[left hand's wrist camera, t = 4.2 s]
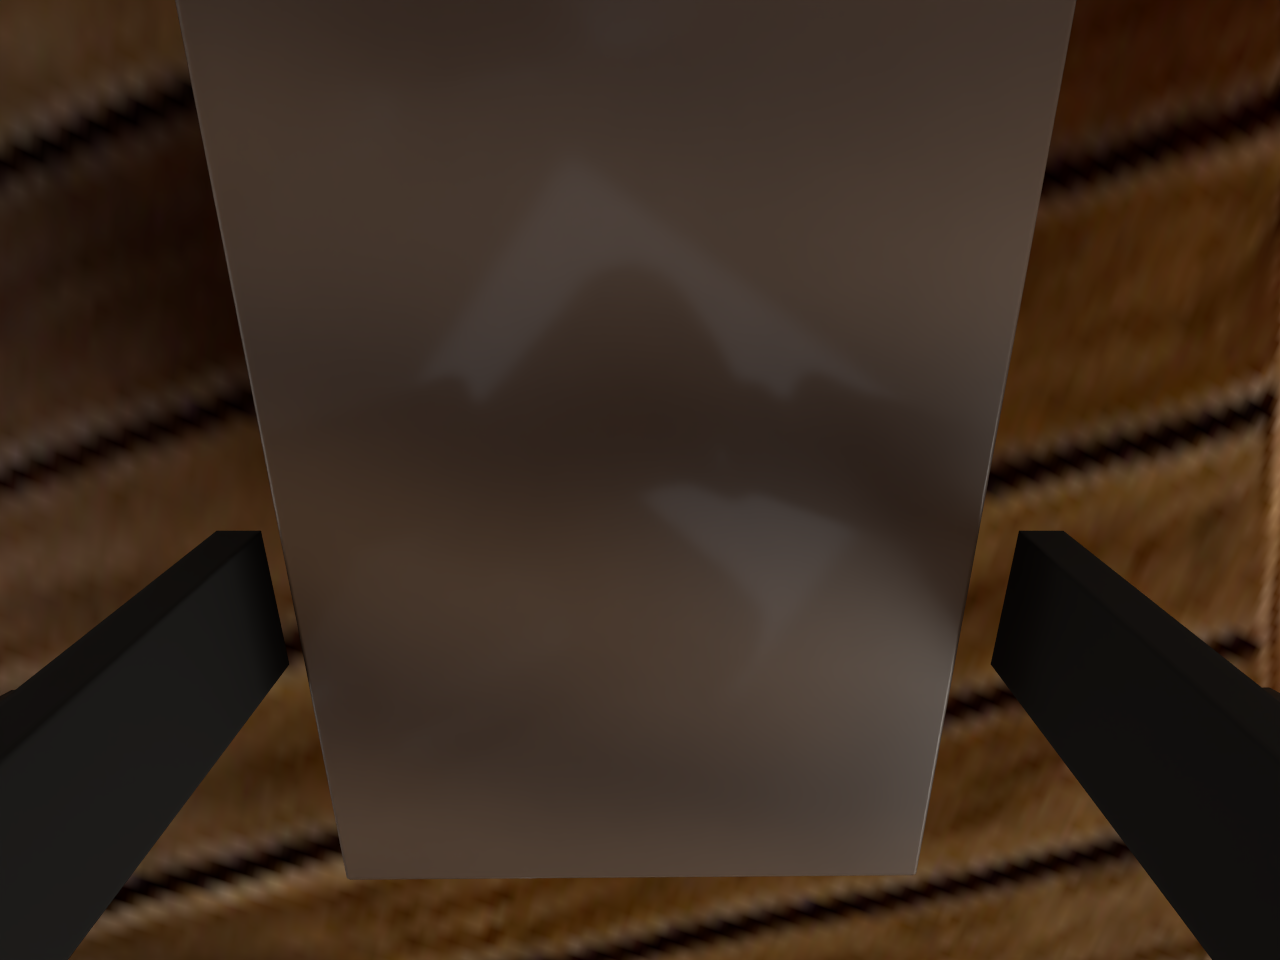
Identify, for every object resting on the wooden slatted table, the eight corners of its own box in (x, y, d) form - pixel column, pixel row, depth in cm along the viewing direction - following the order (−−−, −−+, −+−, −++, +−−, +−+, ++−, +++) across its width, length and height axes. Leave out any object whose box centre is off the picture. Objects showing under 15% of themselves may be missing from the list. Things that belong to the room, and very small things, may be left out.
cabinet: (418, -60, 18) (77, -479, 7) (841, -58, 18) (1165, -470, 7) (476, 575, 24) (345, 881, 13) (788, 573, 24) (917, 877, 13)
